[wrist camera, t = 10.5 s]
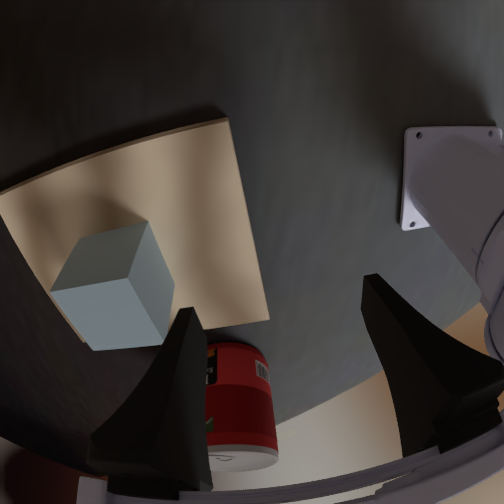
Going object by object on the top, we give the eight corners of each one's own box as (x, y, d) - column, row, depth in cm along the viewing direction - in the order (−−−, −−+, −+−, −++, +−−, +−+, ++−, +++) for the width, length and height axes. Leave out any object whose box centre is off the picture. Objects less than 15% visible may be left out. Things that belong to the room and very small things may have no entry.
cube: (148, 220, 19) (127, 277, 15) (175, 284, 23) (165, 344, 18) (79, 238, 20) (49, 292, 15) (111, 294, 23) (93, 350, 19)
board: (227, 116, 17) (227, 121, 16) (268, 308, 27) (269, 319, 26) (1, 191, 18) (-7, 199, 17) (86, 332, 28) (83, 342, 27)
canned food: (199, 332, 28) (196, 447, 19) (280, 347, 30) (296, 452, 21) (182, 373, 32) (178, 468, 23) (251, 383, 34) (259, 473, 25)
